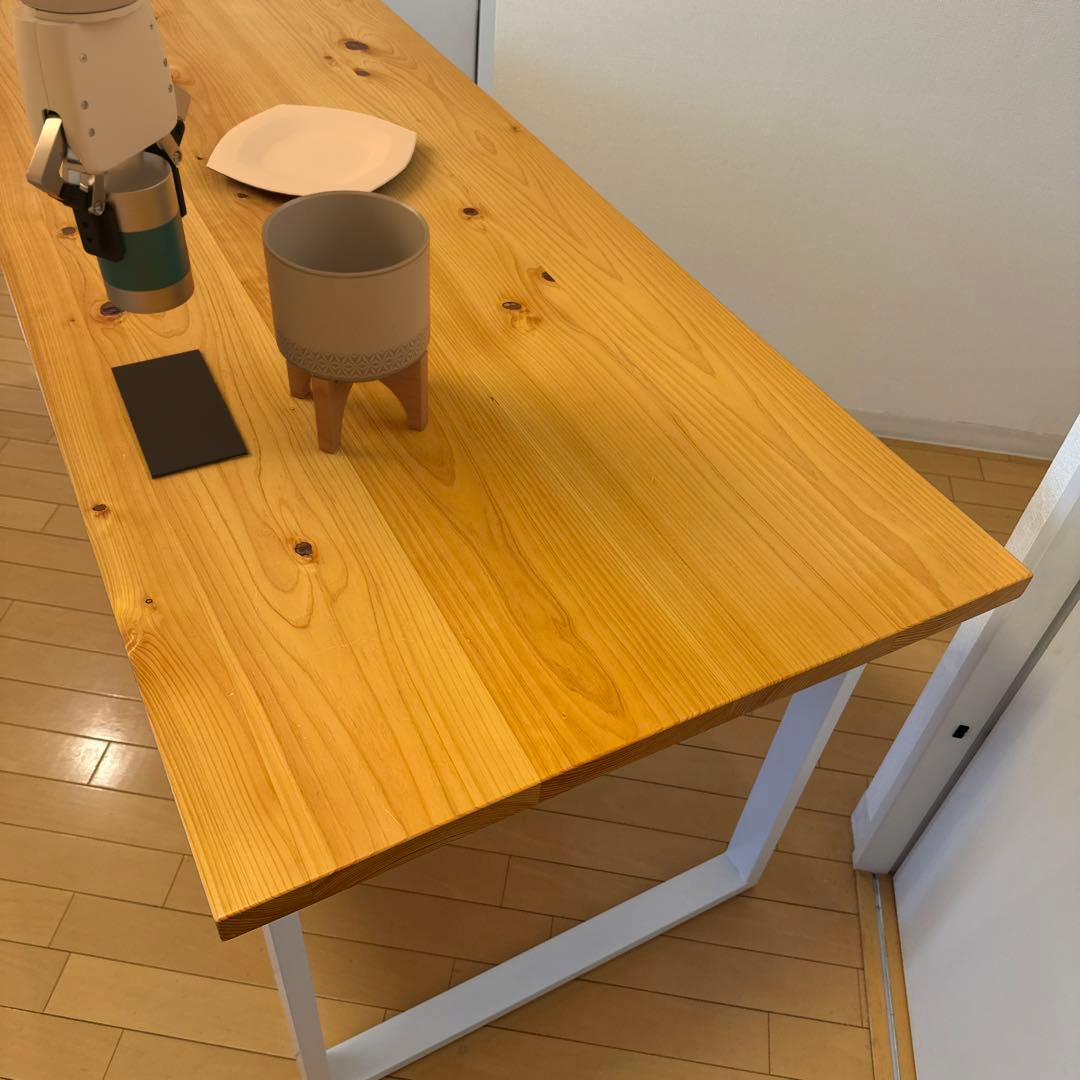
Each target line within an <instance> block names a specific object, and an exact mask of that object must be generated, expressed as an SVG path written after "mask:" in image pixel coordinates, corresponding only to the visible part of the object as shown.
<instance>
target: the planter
mask: <svg viewBox="0 0 1080 1080" xmlns="http://www.w3.org/2000/svg"><path fill="white" fill-rule="evenodd" d="M261 240H262V247H263V254H264V255H263V256H264V263H265V270H266V276H267V277H266V278H267V285H268V292H269V299H270V307H271V314H272V320H273V330H274V336H275V342H276V345H277V346H276V347H277V348H278V351H279V353H280V354H281V355H282V356H283V358H284V359H285V364H286V370H287V371H286V373H287V379H288V386H289V394H290V396H291V397H295V398H298V399H304V398H305V397H306V396H307V394H308V393H309V392H310V391H311V389H312V397H313V406H314V416H315V417H314V418H315V426H316V434H317V435H316V436H317V444H318V450H320V451H324V452H327V453H330V454H333V455H334V454H336V452H337V451H338V450H339V448H340V447H341V446H342V439H341V437H342V426H343V425H342V424H343V418H344V412H345V408H346V405H347V401H348V399H349V395H350V392H351V389H352V388H353V385H354V384H361V383H369V382H376V381H378V382H380V383H381V384H382V385H384V386H385V387H386V388H387V389H388V390H389V391H391V393H392V394H393V395H394V396H395V397H396V398H397V400H398V401H399V403H400V404H401V406H402V408H403V410H404V413H405V415H406V418H407V422H408V428H409V429H412V430H415V431H419V432H423V431H424V429H425V427H426V426H427V424H428V423H429V355H428V354H429V351H428V350H427V349H428V347H429V345H430V341H431V231H430V226H429V223H428V221H427V219H426V218H425V216H424V215H423V214H422V213H421V212H420V211H418V210H417V209H416V208H415V207H413V206H412V205H410V204H409V203H407V202H405V201H403V200H402V199H401V200H400V199H399V198H395V197H393V196H390V195H385V194H382V193H377V192H366V191H354V190H335V191H325V192H319V193H313V194H309V195H305V196H301V197H296V198H292V199H291V200H289V201H286V202H285V203H283V204H281V205H279V206H278V207H276V208H275V209H274V210H273V211H271V212H270V213H269V214H268V216H267V217H266V218H265V220H264V222H263V224H262V228H261ZM311 387H312V388H311Z"/></svg>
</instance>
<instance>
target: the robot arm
mask: <svg viewBox="0 0 1080 1080" xmlns="http://www.w3.org/2000/svg"><path fill="white" fill-rule="evenodd" d="M18 4H19V6H18V7H17V8H15V9H13V10H12V11H11V25H12V29H11V30H12V42H13V51H14V57H15V58H14V59H15V64H16V70H17V75H18V76H17V77H18V82H19V88H20V91H21V96H22V101H23V106H24V110H25V115H26V118H27V123H28V126H29V130H30V134H31V138H32V142H33V144H34V148H35V149H34V152H33V153H32V157H31V159H30V163H29V165H28V168H27V171H26V173H25V177H26V178H25V179H26V181H27V182H28V184H30V185H32V186H33V187H35V188H36V189H38V190H40V191H42V192H43V193H45V194H47V195H48V196H49V198H51V199H53V200H56V201H58V202H60V203H61V204H62V205H63V206H65V207H68V208H71V209H72V213H73V217H74V221H75V223H76V228H77V230H78V235H79V238H80V241H81V245H82V248H83V249H82V250H83V251H84V252H85V253H86V254H88V255H91V256H94V257H96V256H97V257H100V258H103V259H106V260H109V261H112V262H116V263H118V262H120V261H121V260H123V259H124V252H123V248H122V244H121V240H120V236H119V232H118V228H117V224H116V220H115V216H114V213H113V211H112V210H110V209H107V208H105V198H106V185H107V172H108V171H109V170H110V169H112V168H114V167H116V166H117V165H119V164H121V163H122V162H124V161H126V160H127V159H129V158H131V157H132V156H134V155H136V154H137V153H139V152H141V151H143V152H148V153H152V154H155V155H158V156H160V157H162V158H164V159H165V160H166V161H167V162H168V163H169V164H170V166H171V170H172V175H173V180H174V185H175V190H176V195H177V200H178V204H179V208H180V213H181V218H182V219H183V218H184V217H186V216H187V214H188V211H187V210H188V209H187V204H186V200H185V195H184V189H183V183H182V179H181V174H180V168H179V167H177V166H179V165H181V163H182V161H183V152H182V149H181V148H180V146H181V145H182V144H181V143H182V140H183V137H184V135H185V131H186V124H185V121H186V119H187V115H188V112H189V107H190V105H191V95H190V93H189V92H188V91H187V90H185V89H184V88H182V87H181V86H179V85H178V84H176V83H175V82H174V81H173V78H172V73H171V69H170V64H169V60H168V56H167V52H166V48H165V44H164V42H163V38H162V34H161V30H160V29H159V28H160V27H159V24H158V22H157V19H156V16H155V12H154V11H153V7H152V5H151V2H150V0H18ZM61 166H62V169H61ZM60 170H61V173H60ZM81 173H84V174H87V175H89V178H88V192H85V191H84V190H82V189H80V179H81ZM97 257H96V258H97Z"/></svg>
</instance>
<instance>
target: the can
mask: <svg viewBox="0 0 1080 1080" xmlns="http://www.w3.org/2000/svg"><path fill="white" fill-rule="evenodd" d="M88 178H89V175H87V174H84V173H81V179H80V189H82V190H84V191H85V192H88ZM105 208H107V209H110V210H112V211H113V213H114V216H115V220H116V224H117V228H118V232H119V236H120V240H121V244H122V248H123V252H124V259H123V260H121V261H120V262H118V263H116V262H112V261H109V260H106V259H103V258H100V257H97V256H95V257H96V261H97V264H98V268H99V271H100V275H101V277H102V281H103V284H104V288H105V289H104V290H105V292H106V296H107V299H108V301H109V302H110V303H111V304H112V306H114V307H115V308H117V309H119V310H120V311H123V312H127V313H130V314H137V315H152V314H153V315H154V314H161V313H165V312H168V311H169V312H170V311H172V310H175V309H177V308H178V307H181V306H183V305H184V304H185V303H187V302H188V301H189V300H190V299H191V298H192V297H193V295H194V293H195V289H196V287H195V281H194V275H193V272H192V267H191V259H190V254H189V249H188V246H187V245H188V244H187V239H186V234H185V229H184V224H183V217H182V218H181V213H180V208H179V204H178V200H177V195H176V190H175V185H174V180H173V175H172V170H171V166H170V164H169V163H168V162H167V161H166V160H165V159H164V158H162V157H160V156H158V155H155V154H152V153H148V152H143V151H141V152H139V153H137V154H136V155H134V156H132V157H131V158H129V159H127V160H126V161H124V162H122V163H121V164H119V165H117V166H116V167H114V168H112V169H110V170H109V171H108V172H107V185H106V198H105Z"/></svg>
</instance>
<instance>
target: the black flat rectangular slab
mask: <svg viewBox="0 0 1080 1080" xmlns="http://www.w3.org/2000/svg"><path fill="white" fill-rule="evenodd" d="M206 363H207V362H206V361H205V359H204V357H203V354H202V353H201V351H200V349H199V348H197V349H191V350H188V351H181V352H178V353H173V354H169V355H164V356H159V357H155V358H149V359H145V360H140V361H136V362H132V363H127V364H123V365H117V366H112V367H110V370H111V373H112V374H113V378H114V381H115V383H116V386H117V388H118V391H119V395H120V397H121V399H122V401H123V405H124V407H125V410H126V412H127V415H128V418H129V421H130V423H131V426H132V429H133V431H134V433H135V436H136V439H137V442H138V445H139V448H140V450H141V453H142V455H143V458H144V460H145V462H146V466H147V468H148V472H149V473H150V476H151V479H152V480H154V479H158V478H161V477H165V476H169V475H173V474H178V473H180V472H184V471H188V470H192V469H197V468H200V467H204V466H208V465H211V464H215V463H216V464H217V463H220V462H223V461H224V462H225V461H227V460H231V459H235V458H239V457H243V456H245V455H249V451H248V449H247V447H246V445H245V443H244V440H243V439H242V436H241V435H240V432H239V431H238V429H237V426H236V424H235V422H234V420H233V418H232V415H231V414H230V411H229V409H228V407H227V405H226V403H225V401H224V398H223V397H222V395H221V392H220V390H219V388H218V386H217V383H216V382H215V381H214V377H213V375H212V373H211V372H210V369H209V368H208V366H207V364H206Z"/></svg>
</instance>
